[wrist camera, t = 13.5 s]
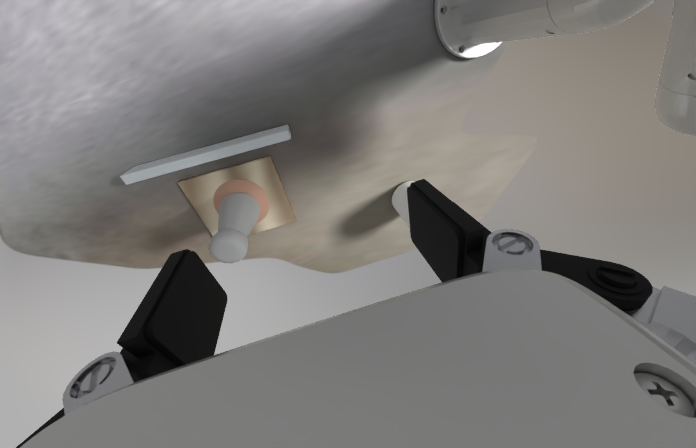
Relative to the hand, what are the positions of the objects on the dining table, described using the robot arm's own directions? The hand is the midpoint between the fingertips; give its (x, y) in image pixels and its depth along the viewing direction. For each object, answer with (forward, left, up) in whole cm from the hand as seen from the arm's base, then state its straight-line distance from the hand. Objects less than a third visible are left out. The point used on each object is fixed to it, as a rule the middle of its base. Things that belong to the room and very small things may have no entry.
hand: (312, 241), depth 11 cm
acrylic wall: (+12, +1, -30) cm, 33 cm away
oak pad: (+12, +10, -30) cm, 34 cm away
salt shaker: (+12, +10, -30) cm, 34 cm away
